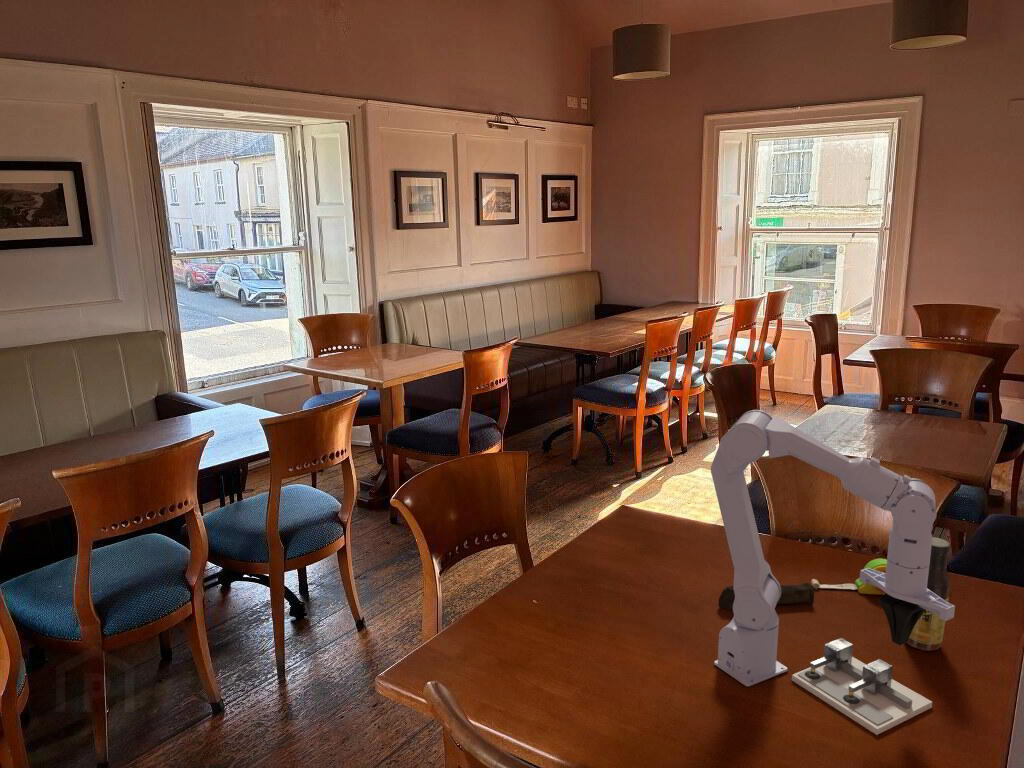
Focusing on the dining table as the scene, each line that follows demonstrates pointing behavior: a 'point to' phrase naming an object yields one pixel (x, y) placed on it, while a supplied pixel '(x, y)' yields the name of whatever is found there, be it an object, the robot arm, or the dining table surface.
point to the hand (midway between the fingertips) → (899, 641)
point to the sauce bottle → (929, 624)
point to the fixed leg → (834, 655)
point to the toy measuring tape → (861, 587)
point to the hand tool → (787, 597)
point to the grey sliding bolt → (873, 677)
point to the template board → (863, 696)
